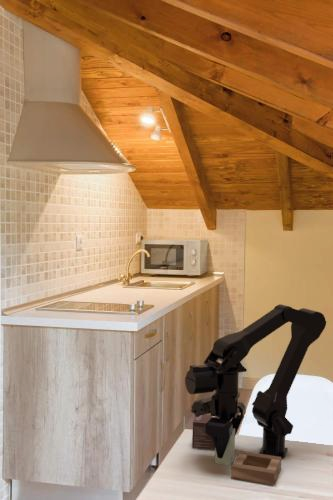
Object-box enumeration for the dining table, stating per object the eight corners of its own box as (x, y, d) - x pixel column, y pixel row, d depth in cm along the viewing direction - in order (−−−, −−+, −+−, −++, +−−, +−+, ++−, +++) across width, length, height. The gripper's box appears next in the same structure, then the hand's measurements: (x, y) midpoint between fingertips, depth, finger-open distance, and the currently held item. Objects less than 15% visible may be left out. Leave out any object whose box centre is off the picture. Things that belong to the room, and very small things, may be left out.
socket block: (240, 462, 155) (241, 450, 155) (280, 469, 152) (281, 457, 151) (231, 478, 146) (231, 466, 145) (273, 486, 142) (274, 473, 142)
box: (195, 440, 169) (195, 413, 169) (217, 442, 168) (218, 415, 168) (191, 448, 164) (192, 421, 163) (214, 450, 162) (215, 423, 162)
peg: (218, 456, 158) (219, 426, 158) (234, 459, 157) (235, 428, 156) (214, 462, 155) (215, 431, 154) (230, 465, 153) (231, 433, 153)
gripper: (205, 376, 166) (204, 433, 167) (184, 396, 149) (182, 460, 150) (246, 381, 162) (245, 440, 163) (229, 402, 145) (227, 467, 146)
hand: (224, 451), depth 156 cm, fingers open, 9 cm apart
